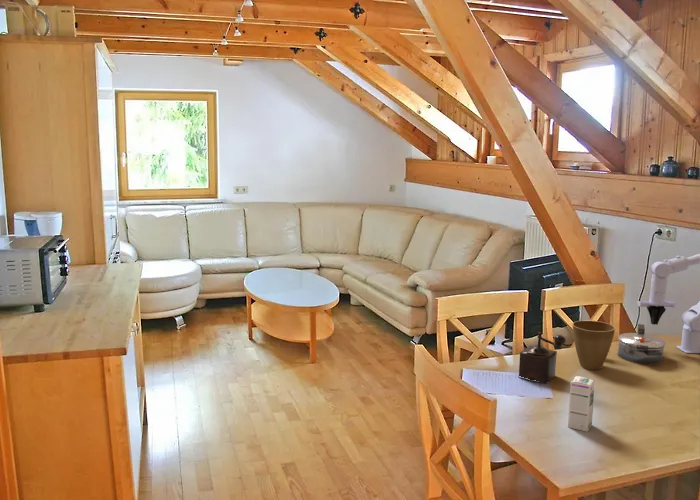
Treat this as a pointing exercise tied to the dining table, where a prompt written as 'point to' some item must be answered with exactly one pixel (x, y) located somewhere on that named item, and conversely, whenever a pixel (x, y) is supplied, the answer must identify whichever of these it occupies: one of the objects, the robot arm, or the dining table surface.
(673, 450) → the dining table surface
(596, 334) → the plant pot
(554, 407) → the dining table surface
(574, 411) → the syrup box
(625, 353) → the clear plastic food container
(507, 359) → the dining table surface
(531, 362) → the manual coffee grinder
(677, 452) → the dining table surface
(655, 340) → the lid
